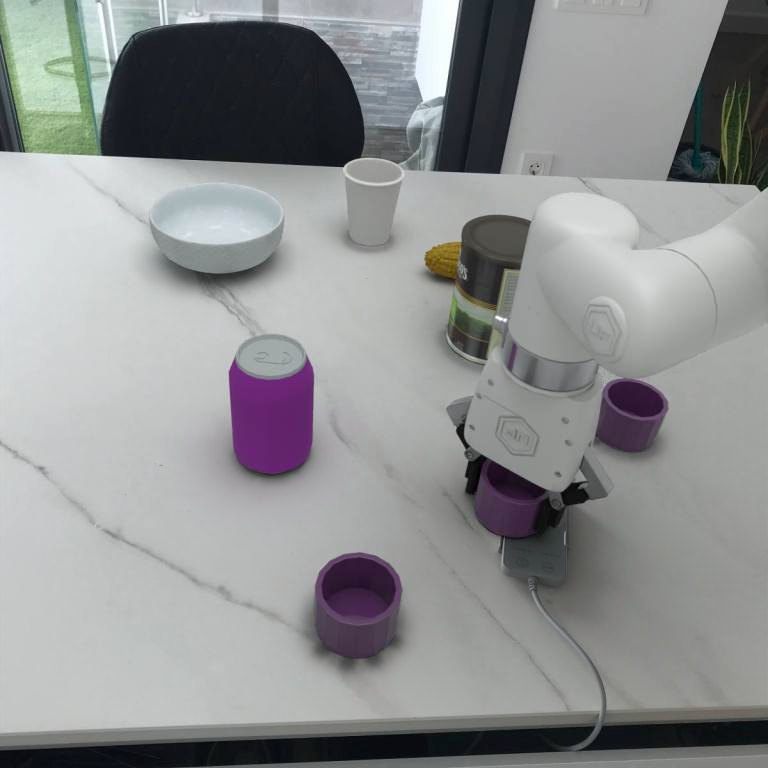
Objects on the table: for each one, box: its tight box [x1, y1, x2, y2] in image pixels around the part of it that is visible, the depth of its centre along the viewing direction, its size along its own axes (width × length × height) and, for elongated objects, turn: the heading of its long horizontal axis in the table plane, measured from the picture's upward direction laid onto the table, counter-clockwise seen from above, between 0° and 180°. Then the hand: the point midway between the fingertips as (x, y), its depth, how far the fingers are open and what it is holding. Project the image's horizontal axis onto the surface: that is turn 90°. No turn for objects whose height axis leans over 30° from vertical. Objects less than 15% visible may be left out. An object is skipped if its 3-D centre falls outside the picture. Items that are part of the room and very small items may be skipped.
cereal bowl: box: [148, 182, 285, 275], centre depth 101 cm, size 17×17×7 cm
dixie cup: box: [342, 157, 406, 247], centre depth 108 cm, size 8×8×10 cm
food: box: [423, 241, 462, 280], centre depth 102 cm, size 21×6×6 cm, turn 92°
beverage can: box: [228, 333, 315, 475], centre depth 72 cm, size 8×8×12 cm
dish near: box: [313, 551, 403, 659], centre depth 61 cm, size 7×7×4 cm
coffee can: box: [445, 214, 531, 366], centre depth 89 cm, size 10×10×14 cm
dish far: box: [595, 377, 670, 453], centre depth 81 cm, size 7×7×4 cm
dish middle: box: [473, 458, 549, 538], centre depth 71 cm, size 7×7×4 cm
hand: (510, 504), depth 72 cm, fingers closed on dish middle, 6 cm apart
